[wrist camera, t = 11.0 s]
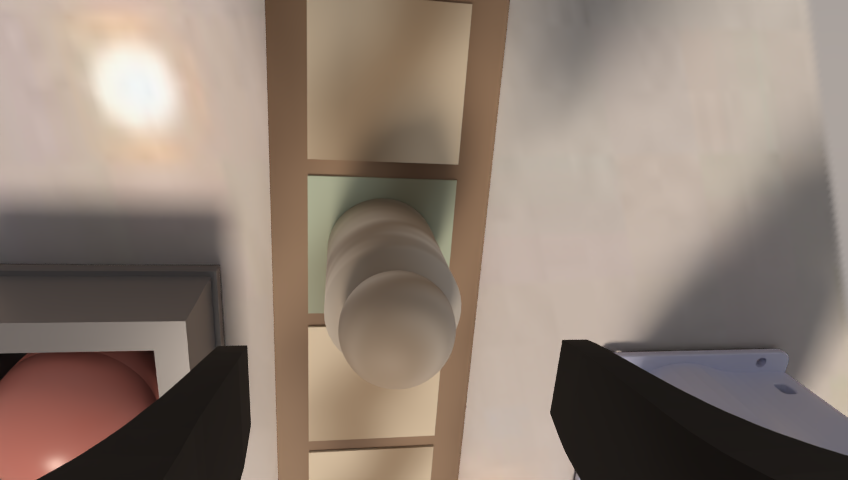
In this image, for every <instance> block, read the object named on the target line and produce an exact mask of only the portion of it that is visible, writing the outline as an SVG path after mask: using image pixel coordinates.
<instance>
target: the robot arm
mask: <svg viewBox="0 0 848 480" xmlns="http://www.w3.org/2000/svg"><path fill="white" fill-rule="evenodd" d="M758 359H759V360H758ZM757 360H758V361H757ZM788 362H789V356H788V354H787V353H785V352H784V351H782V350H781V349H743V350H699V351H654V352H611V351H609V350H608V349H606V348H604V347H602V346H600V345H598V344H596V343H593V342H591V341H589V340H562V346H561V352H560V358H559V364H558V370H557V375H556V381H555V387H554V393H553V399H552V405H551V411H550V414H551V416H552V419H553V422H554V425H555V427H556V430H557V433H558V435H559V438H560V440H561V443H562V445H563V448H564V450H565V452H566V454H567V456H568V458H569V460H570V462H571V463H572V465H573V467H574V469H575V471H576V477H575V480H848V417H846V416H845V415H843V414H842V413H841V412H839V411H838V410H837V409H835V408H834V407H832V406H831V405H830V404H828V403H827V402H825V401H824V400H823V399H821V398H820V397H818V396H817V395H816V394H814V393H813V392H812V391H810V390H809V389H807V388H806V387H805V386H803V385H802V384H800V383H799V382H798V381H796V380H795V379H794V378H792V377H791V376H789V375H788V374H787V373H785V371H786V368H787V365H788ZM250 427H251V418H250V397H249V375H248V353H247V346H217V347H216V348H215V349H214V350H213V351H212V352H210V353H209V354H208V355H207V356H206V357H205V358H204V359H203V360H202V361H200V362H199V363H198V364H197V365H196V366H195V367H194V368H193V369H192V370H191V371H190V372H188V373H187V374H186V375H185V376H184V377H183V378H182V379H181V380H180V381H178V382H177V383H176V384H175V385H174V386H173V387H172V388H170V389H169V390H168V391H167V392H166V393H165V394H164V395H162V396H161V397H160V398H159V399H157V400H156V401H155V402H154V403H152V404H151V405H150V406H149V407H147V408H146V409H145V410H143V411H142V412H141V413H140V414H138V415H137V416H136V417H135V418H133V419H132V420H131V421H129V422H128V423H127V424H125V425H124V426H123V427H121V428H120V429H119V430H117V431H116V432H114V433H113V434H111V435H110V436H108V437H107V438H105V439H104V440H102V441H101V442H99V443H98V444H96V445H95V446H93V447H92V448H90V449H88V450H87V451H85V452H84V453H82V454H81V455H79V456H77V457H76V458H74V459H72V460H71V461H69V462H67V463H65V464H64V465H62V466H60V467H58V468H56V469H55V470H53V471H51V472H49V473H47V474H46V475H44V476H42V477H40V478H39V479H37V480H241V476H242V472H243V469H244V464H245V458H246V452H247V446H248V440H249V433H250Z"/></svg>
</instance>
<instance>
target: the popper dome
mask: <svg viewBox="0 0 848 480" xmlns="http://www.w3.org/2000/svg"><path fill="white" fill-rule="evenodd" d="M157 399H159V392H158V383H157V374H156V365H155V356H154V351H101V352H48V353H27V354H26V355H25V356H24V357H22V358H21V359H20V360H19V361H18V362H17V363H16V364H15V365H14V366H13V367H12V368H11V369H10V370H9V371H8V372H7V373H6V375H5V376H4V377H3V378H2V379H1V380H0V479H1V480H37V479H39V478H40V477H42V476H44V475H46V474H47V473H49V472H51V471H53V470H55V469H56V468H58V467H60V466H62V465H64V464H65V463H67V462H69V461H71V460H72V459H74V458H76V457H77V456H79V455H81V454H82V453H84V452H85V451H87V450H88V449H90V448H92V447H93V446H95V445H96V444H98V443H99V442H101V441H102V440H104V439H105V438H107V437H108V436H110V435H111V434H113V433H114V432H116V431H117V430H119V429H120V428H121V427H123V426H124V425H125V424H127V423H128V422H129V421H131V420H132V419H133V418H135V417H136V416H137V415H138V414H140V413H141V412H142V411H143V410H145V409H146V408H147V407H149V406H150V405H151V404H152V403H154V402H155V401H156V400H157Z"/></svg>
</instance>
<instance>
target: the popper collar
mask: <svg viewBox="0 0 848 480" xmlns="http://www.w3.org/2000/svg"><path fill="white" fill-rule="evenodd" d="M217 346H225V344H224V328H223V312H222V296H221V279H220V265H78V264H0V380H1V379H2V378H3V377H4V376H5V375H6V373H7V372H8V371H9V370H10V369H11V368H12V367H13V366H14V365H15V364H16V363H17V362H18V361H19V360H20V359H21V358H22V357H24V356H25V355H26V354H27V353H48V352H101V351H154V356H155V365H156V374H157V383H158V392H159V398H160V397H161V396H162V395H164V394H165V393H166V392H167V391H168V390H169V389H170V388H172V387H173V386H174V385H175V384H176V383H177V382H178V381H180V380H181V379H182V378H183V377H184V376H185V375H186V374H187V373H188V372H190V371H191V370H192V369H193V368H194V367H195V366H196V365H197V364H198V363H199V362H200V361H202V360H203V359H204V358H205V357H206V356H207V355H208V354H209V353H210V352H212V351H213V350H214V349H215V348H216V347H217ZM0 480H1V479H0Z"/></svg>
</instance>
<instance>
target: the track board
mask: <svg viewBox="0 0 848 480" xmlns="http://www.w3.org/2000/svg"><path fill="white" fill-rule="evenodd" d="M509 3H510V0H265V17H266V54H267V90H268V126H269V163H270V199H271V235H272V272H273V308H274V344H275V381H276V417H277V453H278V480H458V474H459V465H460V456H461V446H462V437H463V428H464V419H465V409H466V400H467V391H468V382H469V372H470V363H471V354H472V345H473V335H474V326H475V317H476V308H477V299H478V289H479V280H480V271H481V262H482V252H483V243H484V234H485V225H486V215H487V206H488V197H489V188H490V179H491V169H492V160H493V151H494V142H495V132H496V123H497V114H498V105H499V95H500V86H501V77H502V68H503V58H504V49H505V40H506V31H507V22H508V12H509ZM379 198H386V199H393V200H398V201H401V202H403V203H406V204H407V205H409V206H411V207H413V208H414V209H415V210H417V211H418V212H419V213H420V214H421V215H422V216H423V218H424V219H425V220H426V222H427V223H428V225H429V227H430V229H431V231H432V233H433V235H434V238H435V240H436V242H437V244H438V246H439V248H440V250H441V252H442V254H443V256H444V258H445V260H446V262H447V264H448V267H449V269H450V271H451V273H452V275H453V277H454V279H455V281H456V283H457V286H458V288H459V292H460V296H461V314H460V320H459V323H458V326H457V328H456V336H455V342H454V346H453V349H452V352H451V354H450V356H449V358H448V360H447V362H446V363H445V365H444V366H443V367H442V368H441V370H440V371H439V372H438V373H437V374H436V375H435V376H433V377H432V378H430V379H429V380H428V381H426V382H424V383H422V384H420V385H418V386H415V387H412V388H407V389H386V388H382V387H378V386H375V385H373V384H371V383H369V382H367V381H366V380H364V379H363V378H361V377H360V376H359V375H358V374H357V373H356V372H355V371H354V370H353V369H352V368H351V367H350V365H349V364H348V363H347V361H346V359H345V357H344V355H343V353H342V352H341V351H339V350H338V348H337V347H336V346H335V344H334V343H333V342H332V340H331V338H330V336H329V334H328V331H327V329H326V325H325V320H324V302H325V285H326V267H327V250H328V240H329V236H330V233H331V231H332V228H333V227H334V225H335V223H336V222H337V220H338V219H339V218H340V217H341V216H342V215H343V214H344V213H345V212H346V211H347V210H348V209H350V208H351V207H353V206H355V205H356V204H359V203H361V202H363V201H367V200H371V199H379Z"/></svg>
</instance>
